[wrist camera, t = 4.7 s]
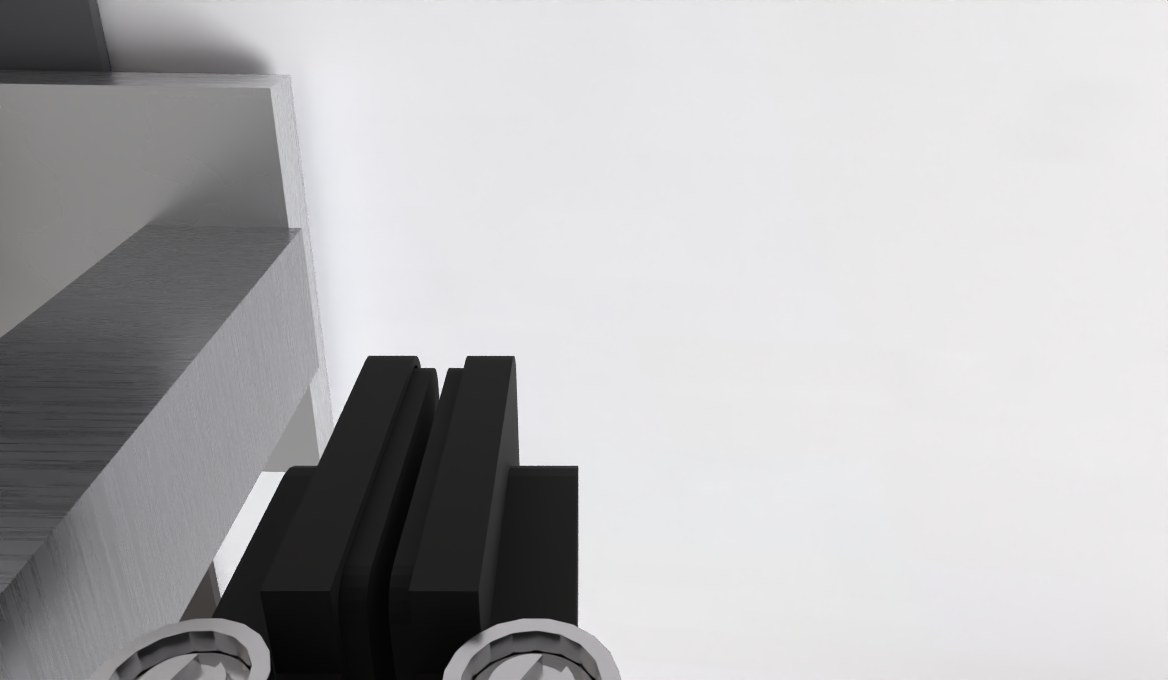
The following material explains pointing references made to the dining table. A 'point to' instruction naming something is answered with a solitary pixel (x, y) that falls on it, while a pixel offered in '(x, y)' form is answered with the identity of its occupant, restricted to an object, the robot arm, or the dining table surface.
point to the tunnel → (76, 43)
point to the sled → (143, 345)
